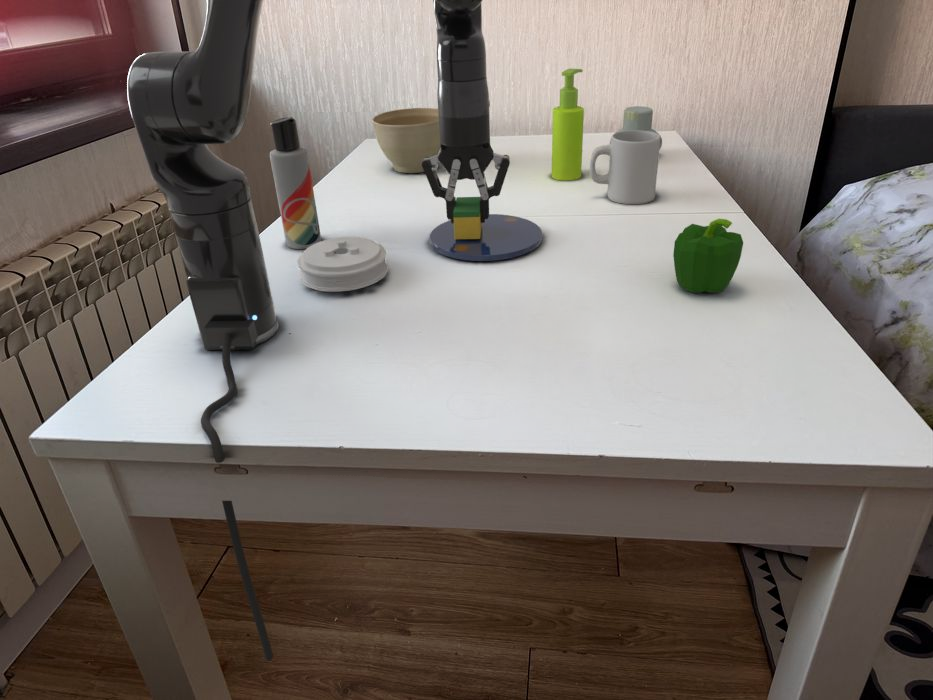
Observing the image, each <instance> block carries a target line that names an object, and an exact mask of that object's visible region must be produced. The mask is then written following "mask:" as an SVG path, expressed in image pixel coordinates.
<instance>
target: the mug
mask: <svg viewBox="0 0 933 700" xmlns="http://www.w3.org/2000/svg"><path fill="white" fill-rule="evenodd" d="M616 132H617V131H616ZM616 132H614V133H613V134H611V138H610V140H611V144H610V143H609V144H604V145H600V146H597V147H596V148H594V149H593V151H592V153H591V155H590V159H589V160H590V161H589V174H590V178H591V179H592V181H593V182H594V183H596V184H600V185H607V199H609V201H612V202H614V203H618V204H624V205H643V204H647V203H650V202H652V201H653V200H654V199H655V198H656V191H657V178H658V169H659V158H660V157H659V156H660V150H659V148H660V136H661V134H659V135H658V134H657V133H658V132H657V133H654V132H649V131H639V130H632V131H622V132H617V133H616ZM660 149H661V148H660ZM601 155H606V156H608V157H609V165H608V173H606V174H601V175H600V174H598V173H597V170H596V162H597V159H598V157H599V156H601Z"/></svg>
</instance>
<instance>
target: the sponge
mask: <svg viewBox="0 0 933 700" xmlns="http://www.w3.org/2000/svg"><path fill="white" fill-rule="evenodd" d="M453 217H454V234H455V239H480V237H481V228H482V223H481V222H480V196H456V204H455V207H454V211H453Z"/></svg>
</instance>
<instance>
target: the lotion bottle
mask: <svg viewBox="0 0 933 700" xmlns="http://www.w3.org/2000/svg"><path fill="white" fill-rule="evenodd" d="M269 125H270V130H271V137H272V141H273V146H274V147H273V148H274V149H273V150H271V151H269V158H270V165H271V170H272V176H273V182H274V186H275V191H276V197H277V202H278V207H279V208H278V209H279V213H280V218H281V223H282V229H283V234H284V239H285V243H286V246H287V247H288V248H289V249H294V250H306V249H307V248H308V247H310V246H312V245H313V244H316V243H318V242H321V241H322V237H321V229H320V222H319V216H318V211H317V210H318V209H317V204H316V198H315V191H314V186H313V180H312V172H311V166H310V162H309V154H308V150H307V148H306V147H304V146H301V145H300V144H301V143H300V138H299V131H298V126H297V120H296V119H295V118H293V116H289V117H287V116H286V117H281V118H278V119H276V120H274V121H272V122H270V124H269Z"/></svg>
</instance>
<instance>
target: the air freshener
mask: <svg viewBox="0 0 933 700" xmlns="http://www.w3.org/2000/svg"><path fill="white" fill-rule="evenodd" d="M653 113H654V110H653V108H652V107H649V106H643V105H642V106H639V105H638V106H637V105H636V106H635V105H634V106H629V107H625V109H623V119H622V128H620V129H618V130H617V131H615V133H617V132H622V131H632V130H639V131H649V132H654V133H657V134H658V135H660V133H659V132H658V131H657V130H656V129H653V128H652V126H653V117H654V116H653V115H654V114H653ZM610 144H611V139H610V140H609V145H610ZM662 146H663V138H662V136H661V135H660V148H659V151H660V150H661V149H662Z"/></svg>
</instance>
